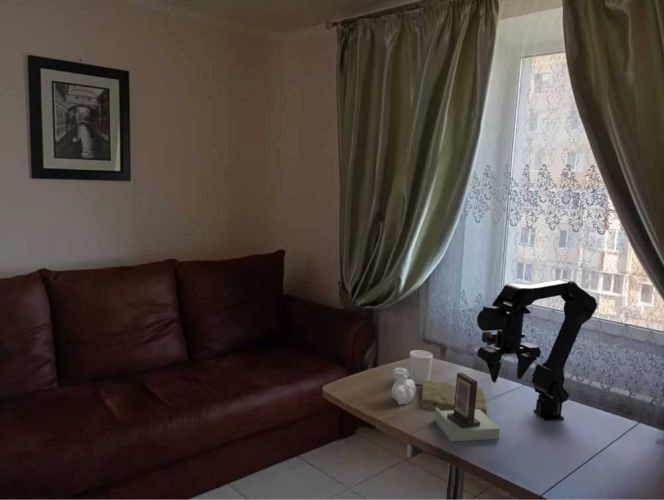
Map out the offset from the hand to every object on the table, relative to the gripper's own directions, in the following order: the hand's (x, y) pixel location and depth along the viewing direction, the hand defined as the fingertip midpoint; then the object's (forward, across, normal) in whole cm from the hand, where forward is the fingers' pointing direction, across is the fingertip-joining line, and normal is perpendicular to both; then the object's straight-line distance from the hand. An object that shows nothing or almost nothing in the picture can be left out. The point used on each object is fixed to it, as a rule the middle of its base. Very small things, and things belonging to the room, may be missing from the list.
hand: (506, 380), depth 153 cm
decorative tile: (+14, +6, -16) cm, 22 cm away
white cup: (+13, +7, -34) cm, 37 cm away
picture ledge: (+13, +13, 0) cm, 19 cm away
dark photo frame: (+10, +15, +1) cm, 18 cm away
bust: (+13, +21, -23) cm, 33 cm away
